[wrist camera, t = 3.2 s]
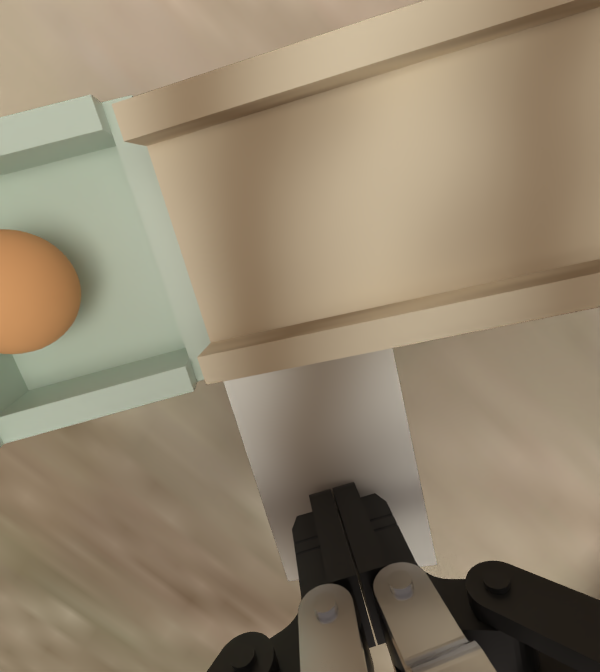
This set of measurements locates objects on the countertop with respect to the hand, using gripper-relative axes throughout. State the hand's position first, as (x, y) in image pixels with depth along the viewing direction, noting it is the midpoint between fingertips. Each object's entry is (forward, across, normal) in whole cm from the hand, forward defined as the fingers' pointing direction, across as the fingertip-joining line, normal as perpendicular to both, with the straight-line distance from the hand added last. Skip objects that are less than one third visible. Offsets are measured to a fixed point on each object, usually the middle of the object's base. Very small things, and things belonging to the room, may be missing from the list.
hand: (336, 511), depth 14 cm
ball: (+3, +8, -9) cm, 12 cm away
